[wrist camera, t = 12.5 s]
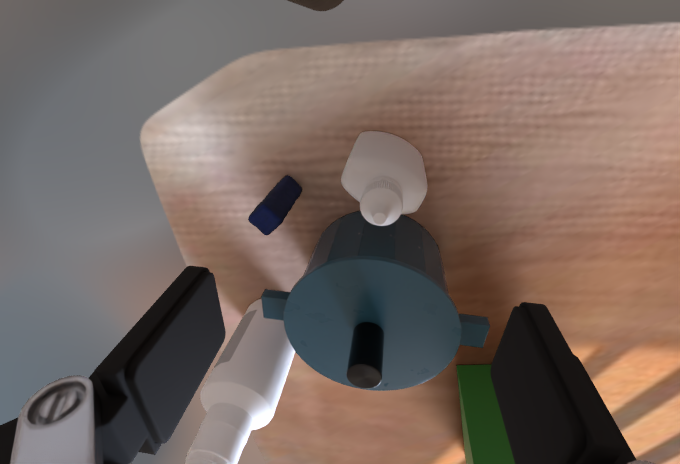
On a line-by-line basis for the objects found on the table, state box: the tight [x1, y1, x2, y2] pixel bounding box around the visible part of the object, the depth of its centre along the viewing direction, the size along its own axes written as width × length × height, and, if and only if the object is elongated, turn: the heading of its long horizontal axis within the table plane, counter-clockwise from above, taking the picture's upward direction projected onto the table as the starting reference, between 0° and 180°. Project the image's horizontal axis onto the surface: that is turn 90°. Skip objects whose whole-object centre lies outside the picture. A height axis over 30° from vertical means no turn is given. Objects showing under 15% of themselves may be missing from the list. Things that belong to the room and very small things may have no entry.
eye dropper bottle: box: [341, 131, 428, 226], centre depth 23 cm, size 4×6×12 cm
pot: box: [261, 211, 490, 348], centre depth 30 cm, size 13×18×8 cm
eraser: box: [248, 175, 302, 235], centre depth 28 cm, size 2×2×7 cm
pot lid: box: [284, 256, 461, 391], centre depth 25 cm, size 14×14×5 cm
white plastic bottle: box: [184, 299, 295, 464], centre depth 32 cm, size 7×7×18 cm
